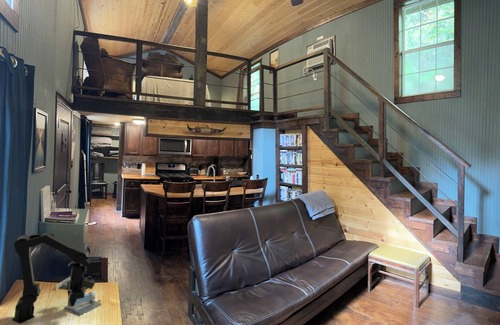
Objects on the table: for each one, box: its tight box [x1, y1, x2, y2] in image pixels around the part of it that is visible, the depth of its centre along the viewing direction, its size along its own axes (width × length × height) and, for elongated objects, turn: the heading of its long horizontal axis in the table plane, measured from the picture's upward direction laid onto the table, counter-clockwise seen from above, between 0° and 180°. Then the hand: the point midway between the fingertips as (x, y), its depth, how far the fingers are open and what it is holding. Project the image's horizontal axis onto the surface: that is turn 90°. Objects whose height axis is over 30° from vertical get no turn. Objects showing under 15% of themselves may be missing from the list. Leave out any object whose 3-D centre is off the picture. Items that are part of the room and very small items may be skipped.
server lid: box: [64, 299, 102, 316], centre depth 150 cm, size 12×12×2 cm
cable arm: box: [67, 290, 97, 307], centre depth 151 cm, size 13×3×4 cm, turn 142°
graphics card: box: [55, 276, 87, 291], centre depth 170 cm, size 17×4×12 cm
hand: (72, 306), depth 145 cm, fingers closed
